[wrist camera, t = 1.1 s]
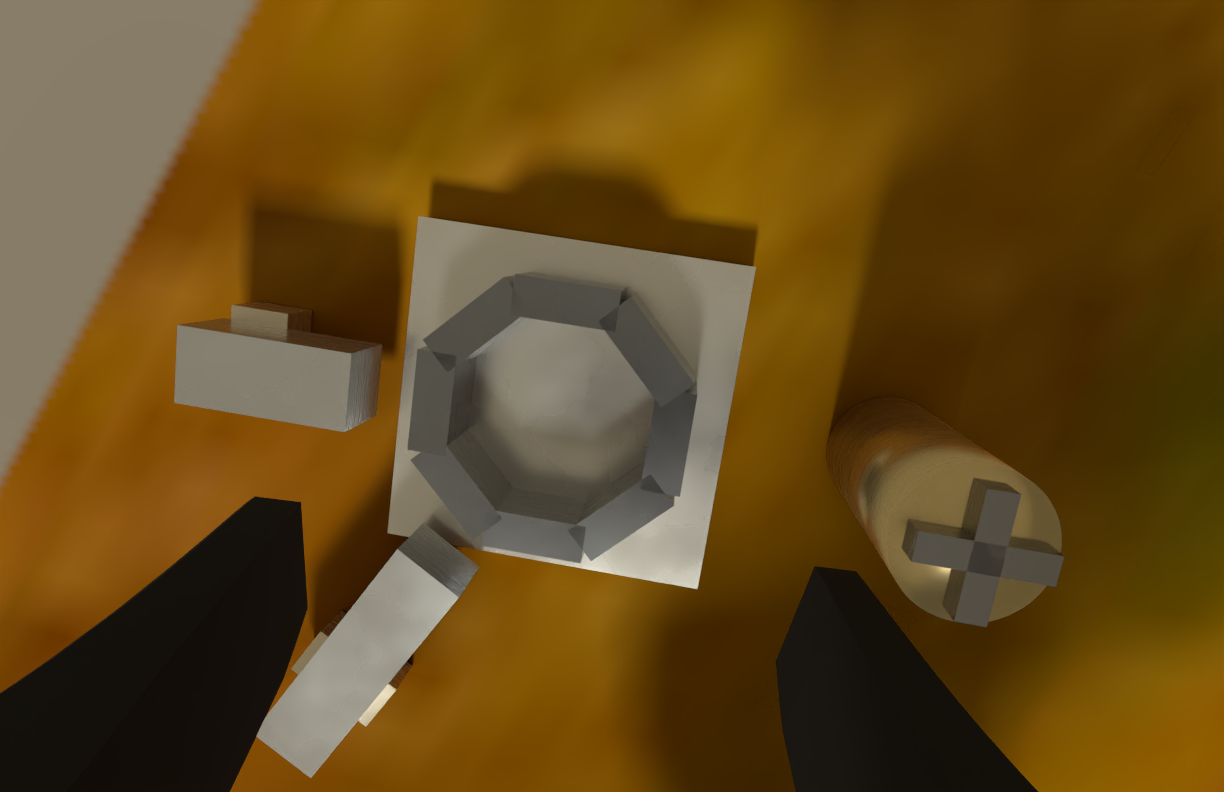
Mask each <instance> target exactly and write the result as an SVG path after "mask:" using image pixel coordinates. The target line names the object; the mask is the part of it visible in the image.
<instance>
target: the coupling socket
mask: <svg viewBox="0 0 1224 792" xmlns="http://www.w3.org/2000/svg"><path fill="white" fill-rule="evenodd" d="M755 270H756V267H753V266H746V265H740V264H733V263H727V262H720V261H713V260H707V259H700V258H694V257H687V256H681V255H674V254H667V253H661V252H654V251H648V250H641V249H634V248H628V247H621V246H615V245H608V244H601V243H595V242H588V241H582V240H575V239H568V238H562V237H555V236H549V235H542V234H535V233H529V232H522V231H516V230H509V229H503V228H496V227H489V226H483V225H476V224H470V223H463V222H456V221H450V220H443V219H437V218H430V217H422V216H418V226H417V237H416V247H415V257H414V267H413V277H412V288H411V298H410V308H409V318H408V328H407V339H406V349H405V359H404V369H403V379H402V390H401V400H400V410H399V420H398V430H397V441H396V451H395V461H394V471H393V481H392V492H391V502H390V512H389V522H388V532H387V533H389V534H395V535H400V536H406V537H409V538H408V539H407V540H406V541H405V542H404V543H403V544H402V545H401V546H400V547H399V548H398V549H397V550H396V551H395V553H394V554H393V555H392V557H391V558H390V559H389V560H388V562H387V563H386V564H385V565H384V567H383V568H382V569H381V571H380V572H379V573H378V574H377V576H376V577H375V578H374V580H373V581H372V582H371V583H370V585H369V586H368V587H367V588H366V590H365V591H364V592H363V594H362V595H361V596H360V597H359V599H358V600H357V601H356V602H355V604H354V605H353V606H352V608H351V609H350V610H349V611H348V613H347V614H346V613H345V612H344V611H342V610H341V611H340V612H339V613H338V614H337V615H336V616H335V617H334V618H333V619H332V620H331V621H330V622H329V623H328V624H327V625H326V626H325V627H324V628H323V629H322V630H321V631H320V633H319V634H318V635H317V636H316V638H315V639H314V640H313V642H312V643H311V644H310V645H309V647H308V648H307V649H306V651H305V652H304V653H303V654H302V656H301V657H300V658H299V660H298V661H297V662H296V663H295V665H294V666H293V667H292V670H293V671H294V672H296V673H297V674H298V676H297V678H296V679H295V680H294V682H293V683H292V684H291V685H290V687H289V688H288V689H287V690H286V692H285V693H284V694H283V696H282V697H281V698H280V699H279V701H278V702H277V703H276V705H275V706H274V707H273V708H272V710H271V711H270V712H269V713H268V715H267V716H266V717H265V719H264V721H263V723H262V725H261V727H260V729H259V732H258V734H257V736H256V737H258V738H259V739H260V740H262V741H263V742H264V743H266V744H267V745H268V746H269V747H271V748H272V749H273V750H275V751H276V752H277V753H279V754H280V755H281V756H283V757H284V758H285V759H286V760H288V761H289V762H290V763H292V764H293V765H294V766H296V767H297V768H298V769H299V770H301V771H302V772H303V773H305V774H306V775H307V776H309V777H310V778H311V777H312V776H313V775H314V774H315V772H316V771H317V770H318V769H319V767H320V766H321V765H322V764H323V763H324V761H325V760H326V759H327V758H328V756H329V755H330V754H331V753H332V752H333V750H334V749H335V748H336V747H337V745H338V744H339V743H340V742H341V741H342V739H343V738H344V737H345V736H346V735H347V733H348V732H349V731H350V730H351V728H352V727H353V726H354V725H355V724H356V722H357V721H359V722H361V723H362V724H363V725H364V726H367V725H368V724H369V722H370V721H371V720H372V719H373V717H374V716H375V715H376V714H377V713H378V711H379V710H380V709H381V708H382V707H383V705H384V704H385V703H386V702H387V700H388V699H389V698H390V697H391V696H392V694H393V693H394V692H395V691H396V690H397V688H398V687H399V685H400V684H401V682H402V681H403V679H404V678H405V676H406V675H407V673H408V672H409V670H410V669H411V667H412V666H413V665H412V664H410V663H409V662H408V661H407V660H408V659H409V658H410V656H411V655H412V654H413V653H414V652H415V650H416V649H417V648H418V647H419V645H420V644H421V643H422V642H423V641H424V639H425V638H426V637H427V636H428V634H429V633H430V632H431V631H432V630H433V628H434V627H435V626H436V625H437V624H438V622H439V621H440V620H441V619H442V617H443V616H444V615H445V614H446V613H447V611H448V610H449V609H450V608H451V606H452V605H453V604H454V603H455V602H456V600H457V599H458V598H459V597H460V595H461V594H462V592H463V591H464V589H465V588H466V586H467V585H468V583H469V582H470V580H471V579H472V577H473V576H474V574H475V573H476V571H477V570H478V568H479V566H478V565H476V564H475V563H474V562H473V561H471V560H470V559H469V558H467V557H466V556H465V555H464V554H462V553H461V552H460V551H459V550H457V549H456V548H455V547H453V546H452V545H456V546H461V547H467V548H472V549H478V550H483V551H489V552H494V553H500V554H506V555H511V556H517V557H522V558H528V559H533V560H539V561H544V562H550V563H555V564H561V565H566V566H572V567H577V568H583V569H589V570H594V571H600V572H605V573H611V574H616V575H622V576H627V577H633V578H638V579H644V580H649V581H655V582H660V583H666V584H672V585H677V586H683V587H688V588H694V589H698V584H699V578H700V573H701V567H702V562H703V556H704V551H705V545H706V540H707V534H708V529H709V523H710V518H711V512H712V507H713V501H714V496H715V490H716V485H717V479H718V474H719V468H720V463H721V457H722V452H723V446H724V441H725V435H726V430H727V424H728V419H729V413H730V408H731V402H732V397H733V391H734V386H735V380H736V375H737V369H738V364H739V358H740V353H741V347H742V342H743V336H744V331H745V325H746V320H747V314H748V309H749V303H750V298H751V292H752V287H753V281H754V276H755ZM311 321H312V310H308V309H302V308H296V307H289V306H283V305H277V304H271V303H265V302H252V303H244V304H235V305H232V312H231V319H226V318H222V319H215V320H208V321H201V322H194V323H187V324H180V325H178V326H177V351H176V375H175V399H174V403H179V404H185V405H190V406H196V407H202V408H208V409H214V410H220V411H225V412H231V413H237V414H243V415H249V416H254V417H260V418H266V419H272V420H278V421H283V422H289V423H295V424H301V425H307V426H312V427H318V428H324V429H330V430H336V431H341V432H346V431H348V430H350V429H352V428H354V427H355V426H357V425H359V424H361V423H363V422H365V421H367V420H369V419H371V418H373V417H375V416H376V411H377V400H378V390H379V379H380V368H381V357H382V346H383V344H378V343H372V342H366V341H360V340H354V339H348V338H342V337H336V336H330V335H323V334H317V333H311Z"/></svg>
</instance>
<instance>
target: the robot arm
mask: <svg viewBox="0 0 1224 792" xmlns="http://www.w3.org/2000/svg"><path fill="white" fill-rule="evenodd" d="M307 608H308V607H307V592H306V576H305V560H304V544H303V529H302V513H301V502H294V501H286V500H278V499H270V498H262V497H254V498H252V499H251V500H250V501H248V502H247V503H246V504H244V505H243V506H242V507H241V508H240V509H238V510H237V511H236V512H235V513H234V514H232V515H231V516H230V517H229V518H228V519H227V520H225V521H224V522H223V523H222V524H221V525H220V526H218V527H217V528H216V529H215V530H214V531H213V532H211V533H210V534H209V535H208V536H207V537H206V538H204V539H203V540H202V541H201V542H200V543H198V544H197V545H196V546H195V547H194V548H193V549H191V550H190V551H189V552H188V553H187V554H185V555H184V556H183V557H182V558H181V559H179V560H178V561H177V562H176V563H175V564H173V565H172V566H171V567H170V568H169V569H167V570H166V571H165V572H164V573H162V574H161V575H160V576H159V577H157V578H156V579H155V580H154V581H152V582H151V583H150V584H149V585H147V586H146V587H145V588H144V589H142V590H141V591H140V592H139V593H137V594H136V595H135V596H134V597H132V598H131V599H130V600H129V601H127V602H126V603H125V604H124V605H122V606H121V607H120V608H118V609H117V610H116V611H115V612H113V613H112V614H111V615H109V616H108V617H107V618H105V619H104V620H103V621H101V622H100V623H99V624H97V625H96V626H94V627H93V628H92V629H90V630H89V631H88V632H86V633H85V634H84V635H82V636H81V637H79V638H78V639H77V640H75V641H74V642H73V643H71V644H70V645H69V646H67V647H66V648H64V649H63V650H62V651H60V652H59V653H58V654H56V655H55V656H54V657H52V658H51V659H49V660H48V661H47V662H45V663H44V664H42V665H41V666H40V667H38V668H37V669H35V670H34V671H32V672H31V673H29V674H28V675H26V676H25V677H24V678H22V679H21V680H19V681H18V682H16V683H15V684H13V685H12V686H10V687H9V688H7V689H6V690H4V691H3V692H1V693H0V792H230V790H231V788H232V786H233V784H234V782H235V779H236V777H237V775H238V773H239V771H240V769H241V767H242V765H243V763H244V761H245V759H246V757H247V755H248V752H249V750H250V748H251V746H252V744H253V742H254V740H255V738H256V736H257V734H258V732H259V729H260V727H261V725H262V723H263V721H264V719H265V717H266V715H267V713H268V710H269V708H270V706H271V704H272V702H273V700H274V698H275V696H276V694H277V691H278V689H279V687H280V685H281V683H282V681H283V678H284V676H285V673H286V670H287V667H288V664H289V662H290V659H291V656H292V653H293V650H294V647H295V644H296V641H297V638H298V635H299V632H300V629H301V626H302V623H303V620H304V617H305V614H306V611H307ZM776 666H777V678H778V689H779V701H780V709H781V718H782V727H783V734H784V739H785V743H786V748H787V753H788V757H789V762H790V766H791V771H792V776H793V780H794V785H795V789H796V792H1038V791H1037V790H1036V789H1035V788H1034V787H1033V786H1032V785H1031V784H1030V783H1029V782H1028V780H1027V779H1026V778H1025V777H1024V776H1023V775H1022V774H1021V773H1020V772H1019V771H1018V770H1017V768H1016V767H1015V766H1014V765H1013V764H1012V763H1011V762H1010V761H1009V760H1008V758H1007V757H1006V756H1005V755H1004V754H1003V753H1002V752H1001V751H1000V749H999V748H998V747H997V746H996V745H995V744H994V743H993V742H992V740H991V739H990V738H989V737H988V736H987V735H986V734H985V733H984V731H983V730H982V729H981V728H980V727H979V726H978V724H977V723H976V722H975V721H974V720H973V719H972V717H971V716H970V715H969V714H968V713H967V712H966V710H965V709H964V708H963V707H962V706H961V704H960V703H959V702H958V701H957V700H956V698H955V697H954V696H953V695H952V693H951V692H950V691H949V690H948V689H947V687H946V686H945V685H944V684H943V682H942V681H941V680H940V679H939V677H938V676H937V675H936V674H935V672H934V671H933V670H932V669H931V667H930V666H929V665H928V664H927V662H926V661H925V660H924V659H923V657H922V656H921V655H920V653H919V652H918V651H917V650H916V648H915V647H914V646H913V644H912V643H911V642H910V641H909V639H908V638H907V637H906V635H905V634H904V633H903V632H902V630H901V629H900V628H899V626H898V625H897V624H896V622H895V621H894V620H893V619H892V617H891V616H890V615H889V613H888V612H887V611H886V609H885V608H884V607H883V605H882V604H881V603H880V602H879V600H878V599H877V598H876V596H875V595H874V594H873V592H872V591H871V590H870V589H869V587H868V586H867V585H866V583H865V582H864V581H863V580H862V578H861V577H860V576H859V575H858V573H857V572H855V571H847V570H839V569H831V568H823V567H814V570H813V572H812V574H811V577H810V579H809V582H808V584H807V587H806V589H805V592H804V594H803V597H802V599H801V601H800V604H799V606H798V609H797V611H796V614H795V616H794V619H793V621H792V624H791V626H790V628H789V631H788V633H787V636H786V638H785V641H784V643H783V646H782V648H781V651H780V653H779V656H778V658H777V660H776Z"/></svg>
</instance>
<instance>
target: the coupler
mask: <svg viewBox="0 0 1224 792" xmlns="http://www.w3.org/2000/svg"><path fill="white" fill-rule="evenodd" d="M826 460H827V466H828V470H829V473H830V475H831V477H832V479H833V481H834V483H835V484H836V486H837V487H838V489H839V491H840V492H841V494H842V495H843V497H844V499H845V500H846V502H847V504H848V505H849V507H850V508H851V510H852V512H853V513H854V515H855V516H856V518H857V520H858V521H859V523H860V524H861V526H862V528H863V529H864V531H865V532H866V534H867V536H868V537H869V539H870V540H871V542H872V544H873V545H874V547H875V548H876V550H877V552H878V553H879V555H880V557H881V558H882V560H883V561H884V563H885V565H886V566H887V568H888V569H889V571H890V573H891V574H892V576H893V577H894V579H895V581H896V582H897V584H898V585H899V587H900V589H901V590H902V591H903V592H904V594H905V595H906V596H907V597H908V598H909V599H910V600H911V601H912V602H913V603H914V604H915V605H917V606H918V607H920V608H921V609H923V610H924V611H926V612H928V613H930V614H932V615H934V616H936V617H939V618H942V619H945V620H949V621H953V622H960V623H965V624H971V625H976V626H982V627H987V625H988V622H989V621H993V620H998V619H1001V618H1004V617H1006V616H1009V615H1011V614H1013V613H1015V612H1017V611H1019V610H1021V609H1022V608H1024V607H1025V606H1027V605H1028V604H1029V603H1031V602H1032V601H1033V600H1034V599H1035V598H1036V597H1038V595H1039V594H1040V593H1041V592H1042V591H1043V590H1044V589H1045V587H1046V586H1052V587H1056V585H1057V581H1058V578H1059V574H1060V571H1061V567H1062V563H1063V560H1064V556H1063V555H1062V554H1061V549H1062V533H1061V526H1060V522H1059V518H1058V516H1057V513H1056V511H1055V508H1054V507H1053V505H1052V503H1051V501H1050V500H1049V498H1048V497H1047V496H1046V495H1045V493H1044V492H1043V491H1042V490H1041V489H1040V488H1039V487H1038V486H1037V485H1036V484H1035V483H1033V482H1032V481H1031V480H1029V479H1028V478H1026V477H1025V476H1023V475H1022V474H1020V473H1019V472H1017V471H1016V470H1014V469H1013V468H1011V467H1010V466H1009V465H1007V464H1006V463H1004V462H1003V461H1001V460H1000V459H998V458H997V457H995V456H994V455H992V454H991V453H989V452H988V451H986V450H985V449H983V448H982V447H980V446H979V445H977V444H976V443H974V442H973V441H971V440H970V439H968V438H967V437H965V436H964V435H962V434H961V433H959V432H958V431H956V430H955V429H954V428H952V427H951V426H949V425H948V424H946V423H945V422H943V421H942V420H940V419H939V418H937V417H936V416H934V415H933V414H931V413H930V412H928V411H927V410H925V409H924V408H922V407H921V406H919V405H917V404H916V403H914V402H912V401H909V400H906V399H902V398H898V397H878V398H873V399H869V400H866V401H863V402H861V403H859V404H857V405H855V406H854V407H852V408H851V409H849V410H848V411H847V412H846V413H845V414H844V415H843V416H842V417H841V418H840V419H839V420H838V421H837V423H836V424H835V426H834V428H833V429H832V431H831V434H830V436H829V439H828V443H827V449H826Z"/></svg>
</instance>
